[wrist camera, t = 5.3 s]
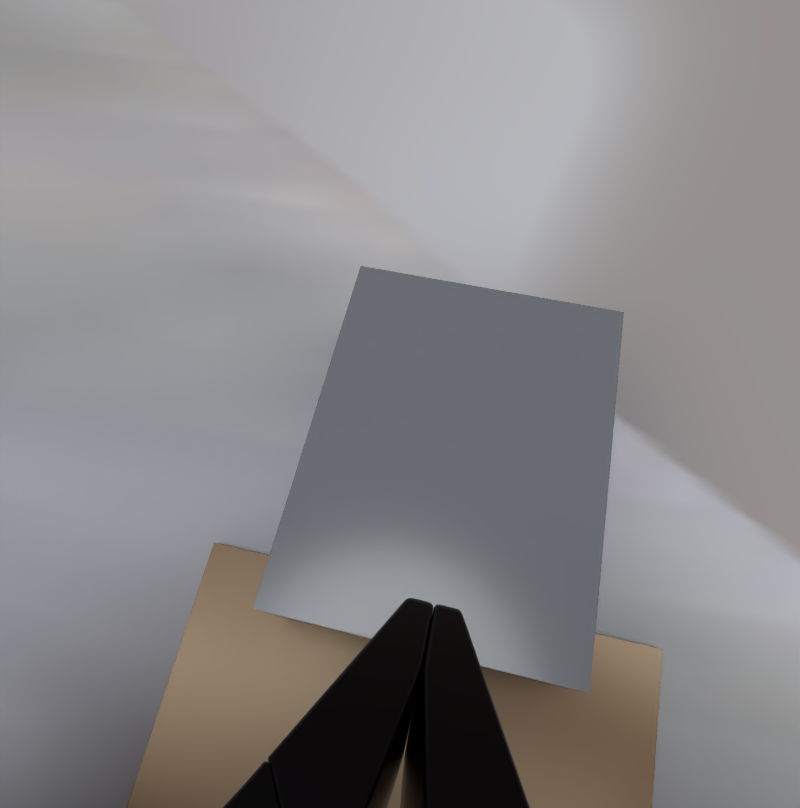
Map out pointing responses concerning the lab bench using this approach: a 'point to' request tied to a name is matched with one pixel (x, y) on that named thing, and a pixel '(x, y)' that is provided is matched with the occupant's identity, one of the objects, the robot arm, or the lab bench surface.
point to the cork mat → (329, 656)
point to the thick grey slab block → (457, 473)
